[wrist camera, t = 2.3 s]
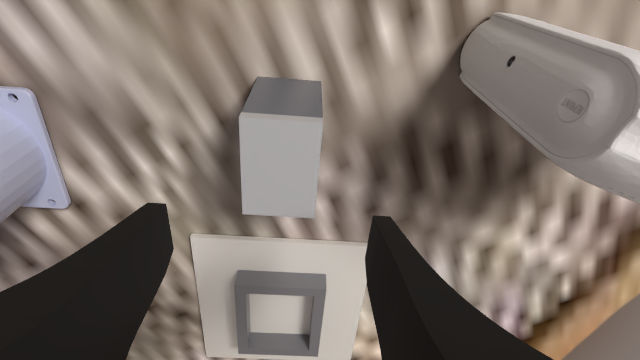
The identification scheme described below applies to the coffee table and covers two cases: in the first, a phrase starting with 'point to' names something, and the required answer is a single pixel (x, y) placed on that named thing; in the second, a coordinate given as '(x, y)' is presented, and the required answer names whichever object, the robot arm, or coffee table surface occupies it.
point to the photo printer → (562, 96)
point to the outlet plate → (279, 296)
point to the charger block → (281, 147)
